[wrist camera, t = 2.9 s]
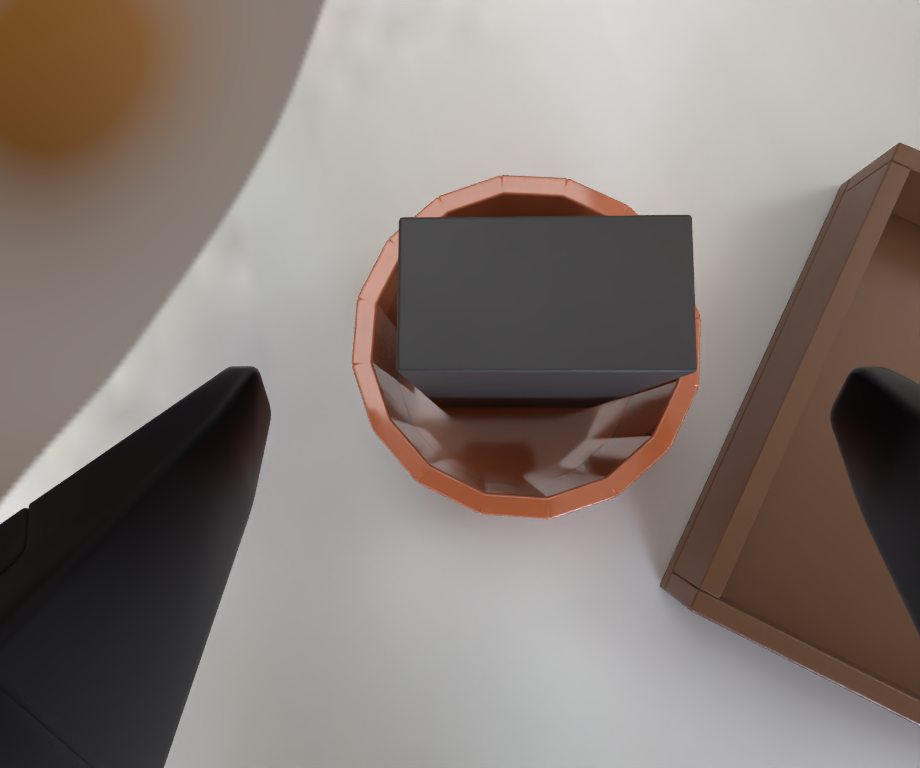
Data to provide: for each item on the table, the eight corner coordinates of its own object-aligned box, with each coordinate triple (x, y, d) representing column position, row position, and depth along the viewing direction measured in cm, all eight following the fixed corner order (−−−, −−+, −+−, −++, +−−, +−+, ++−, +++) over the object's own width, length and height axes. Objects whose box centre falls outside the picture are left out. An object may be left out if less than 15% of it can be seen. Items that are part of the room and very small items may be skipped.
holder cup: (575, 543, 18) (609, 580, 13) (342, 426, 19) (293, 419, 14) (685, 310, 19) (756, 262, 14) (456, 204, 20) (447, 122, 15)
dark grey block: (592, 408, 18) (698, 372, 9) (437, 407, 18) (395, 372, 9) (590, 316, 19) (692, 195, 10) (438, 316, 19) (398, 198, 10)
